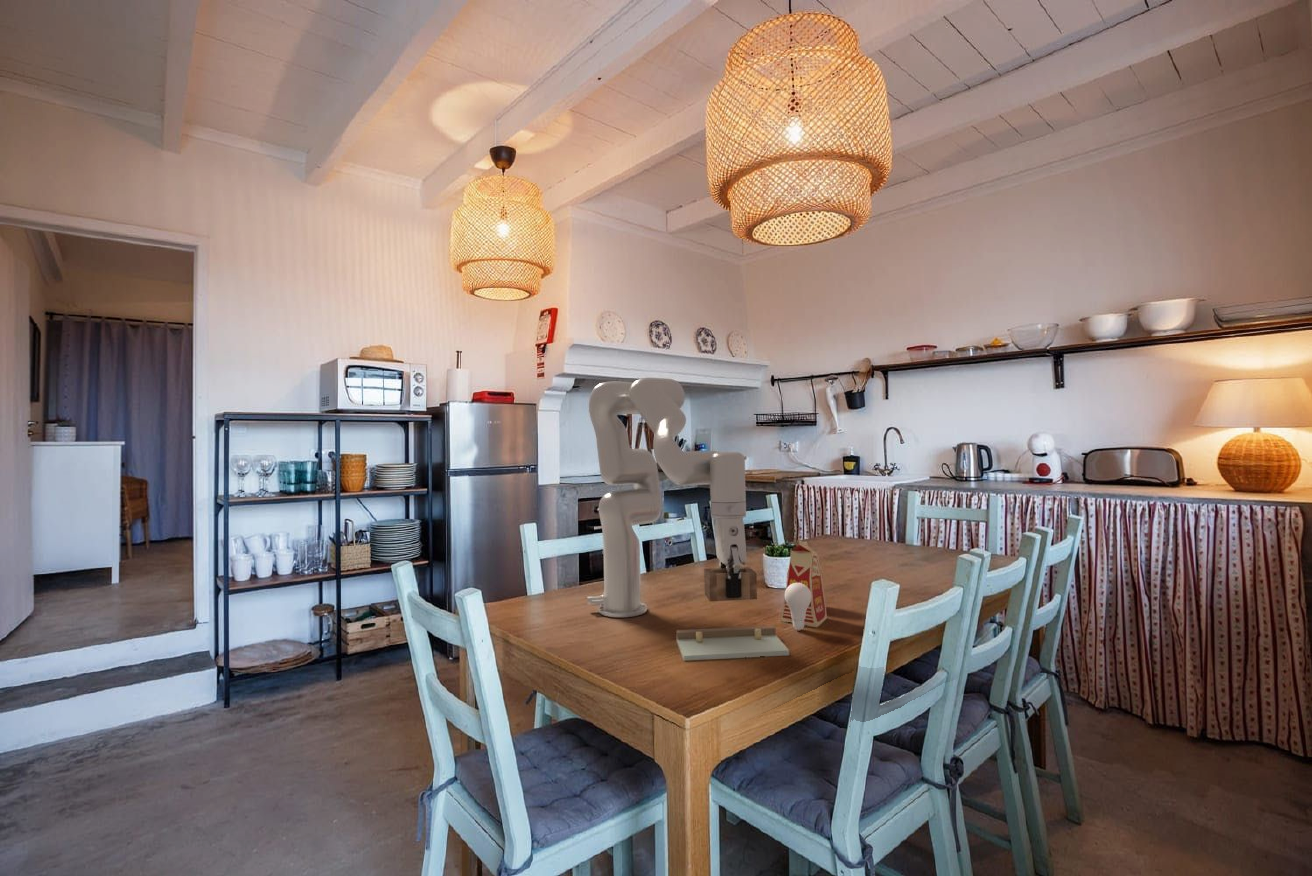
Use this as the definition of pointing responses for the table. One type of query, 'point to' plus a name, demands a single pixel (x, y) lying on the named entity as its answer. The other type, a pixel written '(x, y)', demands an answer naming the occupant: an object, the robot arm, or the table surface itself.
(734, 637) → the board
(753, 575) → the wooden box
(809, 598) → the lightbulb
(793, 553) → the milk carton
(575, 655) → the table surface
